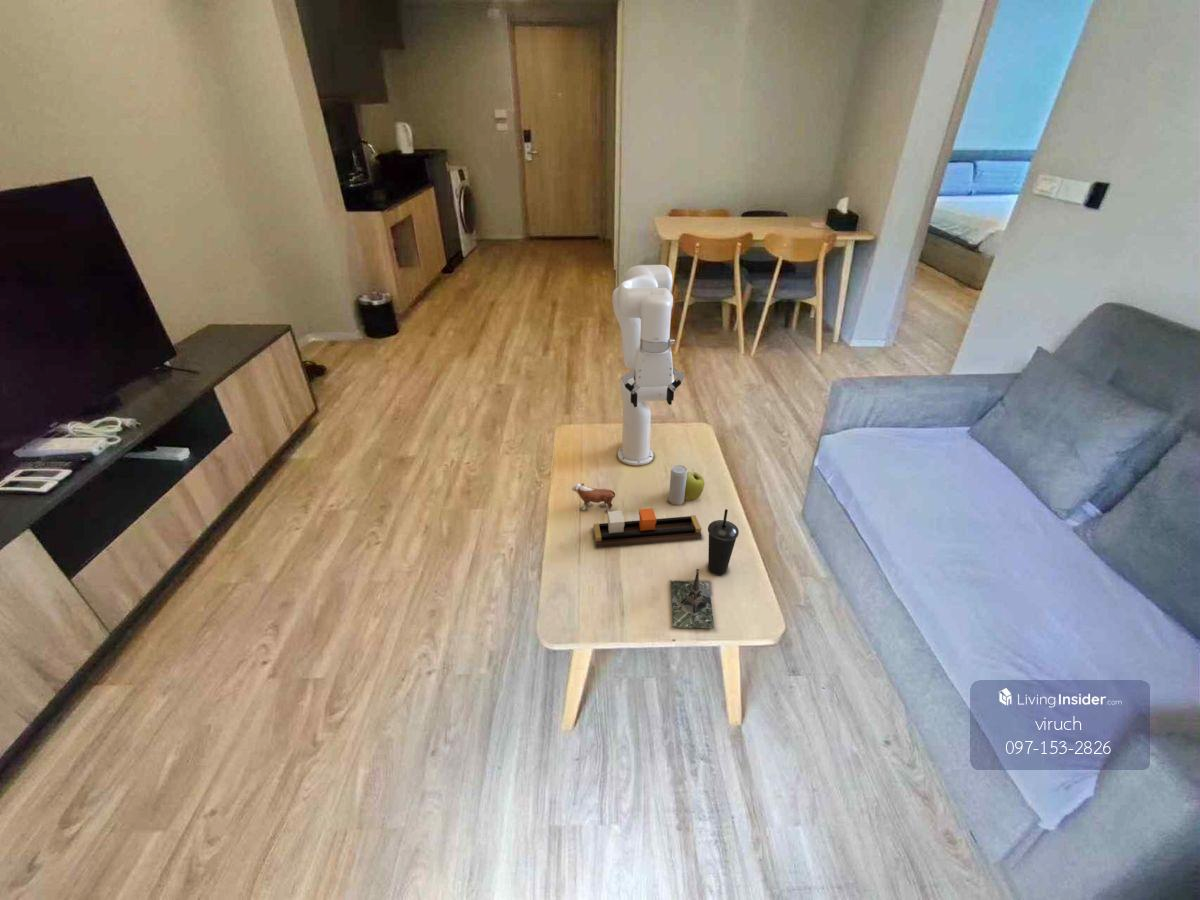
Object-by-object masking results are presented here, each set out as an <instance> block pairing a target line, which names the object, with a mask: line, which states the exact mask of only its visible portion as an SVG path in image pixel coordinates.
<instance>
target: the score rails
mask: <svg viewBox="0 0 1200 900" xmlns="http://www.w3.org/2000/svg"><path fill="white" fill-rule="evenodd" d="M686 522H691V523H692V525H693V527H681V528H670V529H658V530H646V531H634V532H623V533H611V534H601V533H600V530H603V529H608V522H603V523H598V522H597V523H593V526H594V530H593V533H594V532H595V536H594V539H595V538H596V541H602V540H614V539H626V538H637V537H649V536H661V535H672V534H684V533H701V532H702V527H701V525H700V523H699V520H698V518H697V516H696V515H694V514H693V515H688V516H687V515H686V516H677V517H675V516H674V517H665V518H664V517H663V518H656V524H655V525H662V524H674V523H686ZM638 526H639V520H630V521H629V520H627V521H624V528H626V527H638ZM701 534H702V533H701Z"/></svg>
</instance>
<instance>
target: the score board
mask: <svg viewBox="0 0 1200 900" xmlns="http://www.w3.org/2000/svg"><path fill="white" fill-rule="evenodd" d="M592 526H593V529H592V530H593V535H594V536H593V537H594V540H595V541H594V542H595V547H596V548H597V549H600V548H610V547H611V548H613V547H625V546H636V545H645V544H646V545H647V544H648V545H649V544H657V543H668V542H669V543H670V542H680V541H692V540H701V539H702V533H684V534H672V535H661V536H649V537H637V538H626V539H614V540H602V541H596V538H595V532H594V525H592ZM681 527H693V525H692V523H691V522H686V523H674V524H662V525H655V530H658V529H670V528H681ZM634 531H640V528H639V526H638V527H626V528H624V532H634ZM600 533H601V534H609V531H608V529H603V530H600Z"/></svg>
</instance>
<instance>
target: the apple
mask: <svg viewBox="0 0 1200 900" xmlns="http://www.w3.org/2000/svg"><path fill="white" fill-rule="evenodd" d="M704 487H705V479H704V477H703V475H702V474H701V473H699V472H696V471H694V470H692V471H687V479H686V488H685V498H684V500H688V501H689V500H690V501H691V500H692V501H693V500H697V499H699V498H700V496H701V495H702V494H703V492H704Z"/></svg>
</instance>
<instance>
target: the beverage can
mask: <svg viewBox="0 0 1200 900" xmlns="http://www.w3.org/2000/svg"><path fill="white" fill-rule="evenodd" d="M687 472H688V468H687V467H685V466H684V465H682V464H676V465H673V466H672V467H671V470H670V478H669V489H668V501H669V502H670V504H672V505H675V506H678V505H680V506H681V505H682V504H683V503H684V502H685V488H686V479H687Z"/></svg>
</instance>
